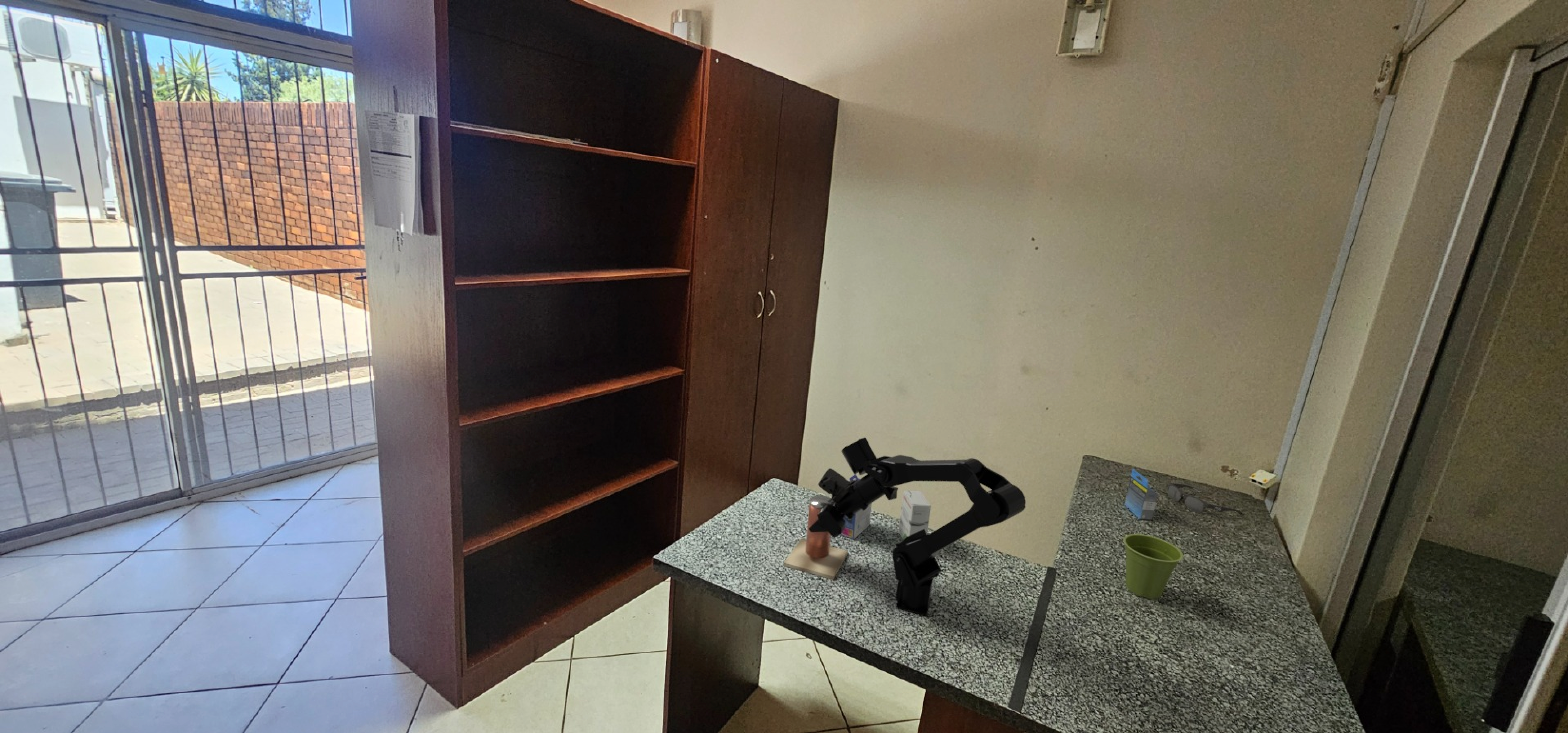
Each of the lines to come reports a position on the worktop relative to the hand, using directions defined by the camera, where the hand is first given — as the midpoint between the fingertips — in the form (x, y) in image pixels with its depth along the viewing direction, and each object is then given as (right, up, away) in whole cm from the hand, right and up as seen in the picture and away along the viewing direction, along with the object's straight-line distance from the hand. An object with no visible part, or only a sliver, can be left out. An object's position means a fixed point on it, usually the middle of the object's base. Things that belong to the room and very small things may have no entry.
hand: (814, 524), depth 142 cm
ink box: (+26, -8, +14) cm, 30 cm away
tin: (+1, -7, +1) cm, 7 cm away
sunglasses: (+124, -7, +48) cm, 133 cm away
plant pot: (+76, -15, -1) cm, 78 cm away
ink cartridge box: (+11, -6, +17) cm, 21 cm away
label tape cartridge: (+98, -7, +39) cm, 106 cm away
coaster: (+1, -9, +2) cm, 9 cm away
